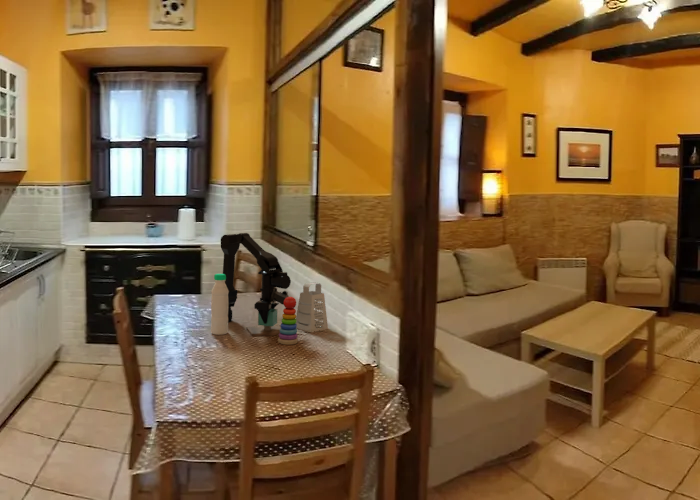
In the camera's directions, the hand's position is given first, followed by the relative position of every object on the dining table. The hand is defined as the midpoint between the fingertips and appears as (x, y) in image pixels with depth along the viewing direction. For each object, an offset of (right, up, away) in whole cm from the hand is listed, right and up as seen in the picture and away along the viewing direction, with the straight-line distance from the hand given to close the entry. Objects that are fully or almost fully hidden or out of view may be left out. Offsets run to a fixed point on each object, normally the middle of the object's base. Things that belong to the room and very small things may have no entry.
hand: (267, 321), depth 265 cm
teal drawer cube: (0, -1, 0) cm, 1 cm away
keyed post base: (0, -4, 0) cm, 4 cm away
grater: (+18, -4, +9) cm, 21 cm away
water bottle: (-20, -4, -5) cm, 21 cm away
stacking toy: (+10, -7, -16) cm, 20 cm away
